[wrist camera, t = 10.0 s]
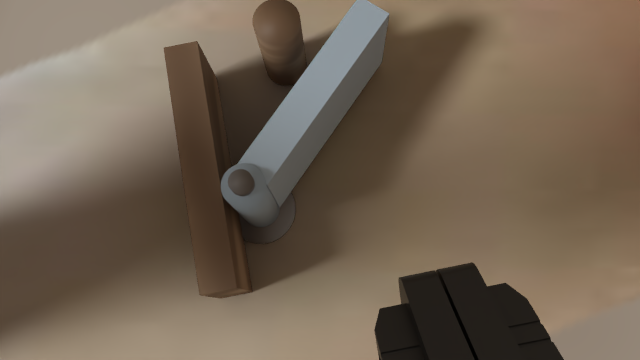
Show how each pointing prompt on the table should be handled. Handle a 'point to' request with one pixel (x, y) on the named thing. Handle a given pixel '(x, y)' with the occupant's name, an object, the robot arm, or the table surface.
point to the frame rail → (213, 178)
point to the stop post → (280, 40)
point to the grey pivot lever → (310, 113)
